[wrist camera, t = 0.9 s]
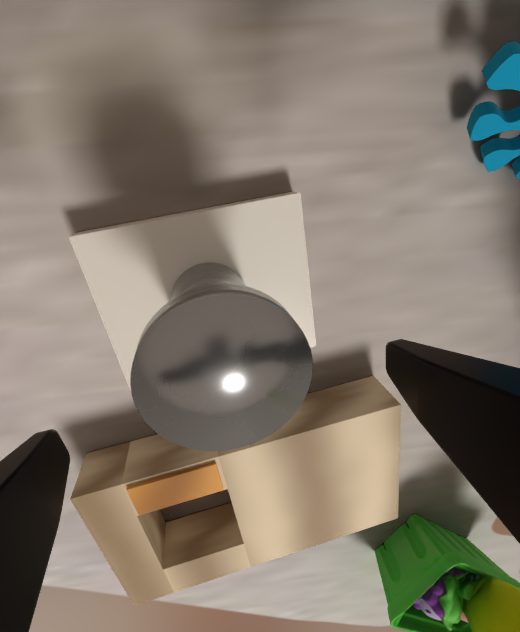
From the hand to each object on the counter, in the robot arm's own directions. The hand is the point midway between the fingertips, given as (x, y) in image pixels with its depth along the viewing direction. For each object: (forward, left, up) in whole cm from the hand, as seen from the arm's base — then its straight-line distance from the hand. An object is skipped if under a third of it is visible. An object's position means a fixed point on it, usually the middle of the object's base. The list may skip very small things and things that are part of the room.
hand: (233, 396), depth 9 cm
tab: (0, 0, -9) cm, 9 cm away
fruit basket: (-14, +28, -9) cm, 33 cm away
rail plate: (0, +13, -9) cm, 16 cm away
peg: (0, 0, -8) cm, 8 cm away
